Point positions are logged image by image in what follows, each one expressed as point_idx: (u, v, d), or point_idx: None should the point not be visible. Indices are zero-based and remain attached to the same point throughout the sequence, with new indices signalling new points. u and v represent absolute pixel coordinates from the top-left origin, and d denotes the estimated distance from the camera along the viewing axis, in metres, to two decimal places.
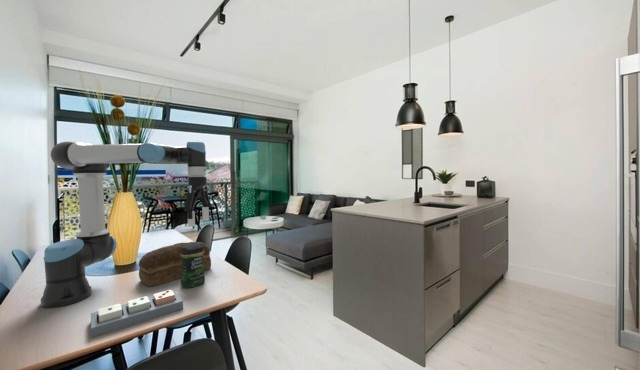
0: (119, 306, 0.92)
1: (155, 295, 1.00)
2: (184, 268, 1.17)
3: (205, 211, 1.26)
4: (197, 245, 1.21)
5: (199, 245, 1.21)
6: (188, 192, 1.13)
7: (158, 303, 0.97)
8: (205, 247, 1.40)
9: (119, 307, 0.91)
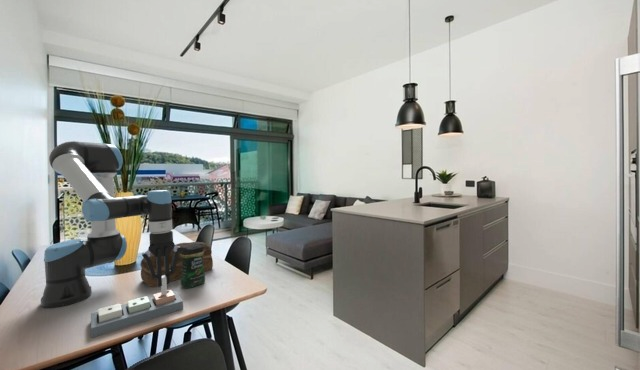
0: (119, 306, 0.92)
1: (155, 295, 1.00)
2: (184, 268, 1.17)
3: None
4: (197, 245, 1.21)
5: (199, 245, 1.21)
6: None
7: (158, 303, 0.97)
8: (207, 247, 1.40)
9: (119, 307, 0.91)
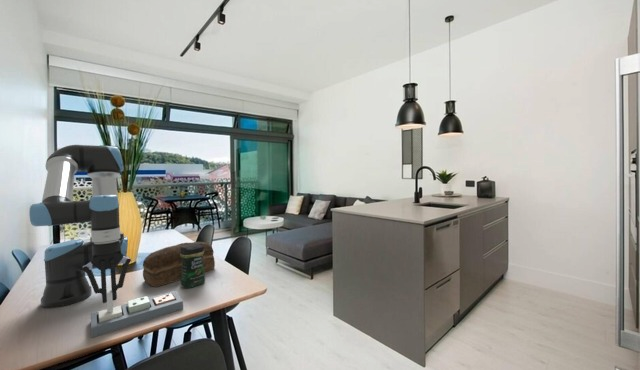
0: (119, 308, 0.92)
1: (155, 299, 1.00)
2: (184, 268, 1.17)
3: None
4: (197, 245, 1.21)
5: (199, 245, 1.21)
6: None
7: None
8: (209, 247, 1.40)
9: (119, 309, 0.91)
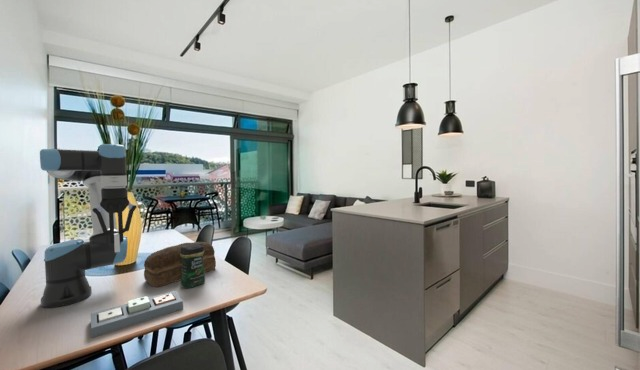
0: (119, 310, 0.92)
1: (155, 299, 1.00)
2: (184, 268, 1.17)
3: None
4: (197, 245, 1.21)
5: (199, 245, 1.21)
6: None
7: None
8: (210, 247, 1.40)
9: (119, 311, 0.91)
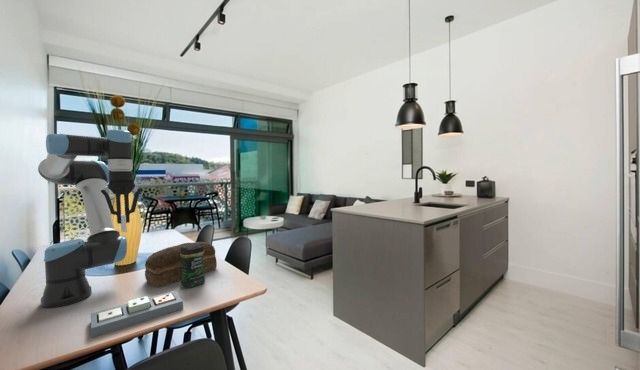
0: (119, 310, 0.92)
1: (155, 299, 1.00)
2: (184, 268, 1.17)
3: None
4: (197, 245, 1.21)
5: (199, 245, 1.21)
6: None
7: None
8: (211, 247, 1.40)
9: (119, 311, 0.91)
